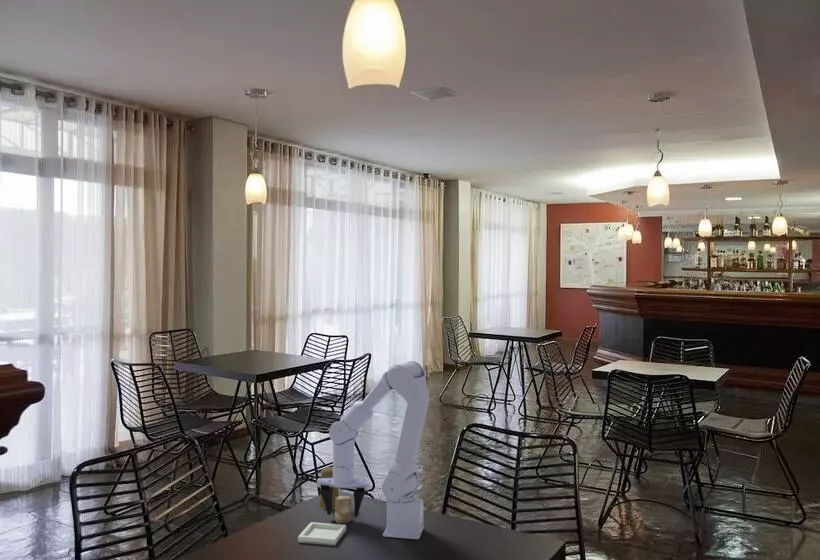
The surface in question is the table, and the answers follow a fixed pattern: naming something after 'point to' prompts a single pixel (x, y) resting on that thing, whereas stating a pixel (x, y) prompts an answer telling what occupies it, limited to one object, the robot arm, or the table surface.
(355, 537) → the table surface
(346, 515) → the beech cylinder
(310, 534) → the sage tray
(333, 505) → the olive tapered cylinder
